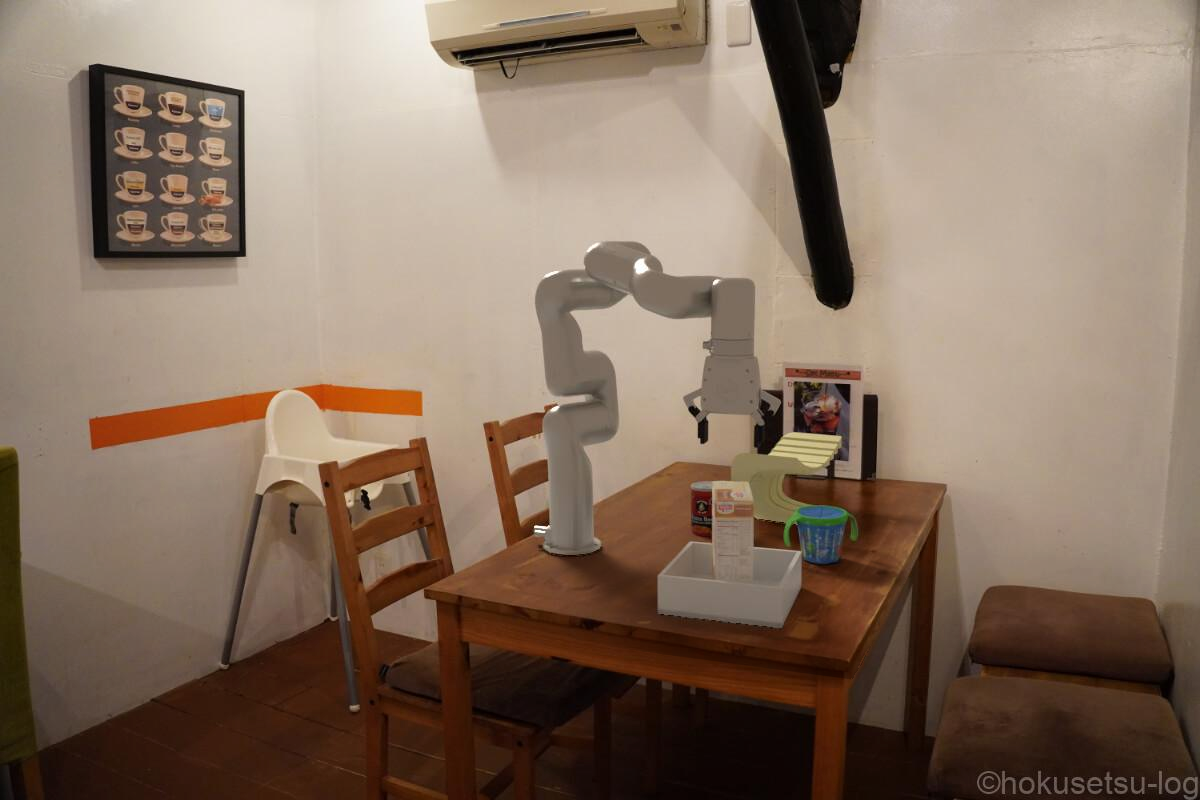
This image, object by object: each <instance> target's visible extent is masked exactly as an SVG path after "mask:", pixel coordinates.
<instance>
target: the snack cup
mask: <svg viewBox="0 0 1200 800" xmlns="http://www.w3.org/2000/svg"><path fill="white" fill-rule="evenodd" d="M812 505H813V506H805V507H801V508H798V509H797V510H796V511H795V514H794V515H793V516H792V517H790V518H789V520H788V521H787V523H785V526H784V530H783V542H784V544H785V546H786V547H787V548H790V547H791V542H790V541H791V540H790V529H791V527H792V526H793V523H794V522H795V521H796V522H797V525H796V526H797V529H798V535H799V537H798V538H799V543H800V551H802V557H803V558H802V559H803V560H804V561H807V562H809V563H813V564H819V565H825V564H832V563H837V562H838V560H839V559H840V557H841V553H842V548H843V539H844V533H845V527H846V523H847V521H848V518H849V519H850V540H852V541H853V542H856V541H857V540H858V536H859V526H858V522H857V519H856V518H855V516H853V515H852V514H851V513H849V512H848V511H847V510H845V509H843V508H841V507H838V506H833V505H825V504H824V505H823V504H822V505H820V504H819V505H814V504H812Z"/></svg>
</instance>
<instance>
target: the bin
mask: <svg viewBox="0 0 1200 800" xmlns="http://www.w3.org/2000/svg"><path fill="white" fill-rule="evenodd" d="M802 557H803V556H802V551H801V550H791V549H779V548H778V549H777V548H767V547H756V546H754V568H753V584H748V583H738V582H729V581H719V580H713V573H712V542H702V541H701V542H699V541H692V540H691V541H688V543H687V544H686V545H685V546H684V547H683V548H682V549H681V550H680V551H679V552H678V554H676V555H675V556H674V558H673V559H672V560H671V561H670V562H669V563H668V564H667V565H666V566H665V567H664V568H663V570H662V571H660V573H659V574H658V575H657V615H660V614H664V615H663V616H668V615H674V616H673V617H677V616H681V617H680V618H685V617H687V618H688V619H694V618H697V619H696V620H702V619H706V620H705V621H711V620H716V621H715V622H719V621H722V623H728V622H730V624H736V623H741V624H740V625H745V624H748V625H747V626H753V625H758V626H757V627H762V626H767V627H766V628H770V627H773V628H772V629H779V628H782V629H783V626H784V624H785V623H786V620H787V618H788V616H789V613H790V611H791V609H792V608H793V605H794V604H795V601H796V599H797V597H798V596H799V593H800V591H801V589H802V561H803V560H802V559H803V558H802ZM698 618H699V619H698ZM707 619H708V620H707ZM784 622H785V623H784Z"/></svg>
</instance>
